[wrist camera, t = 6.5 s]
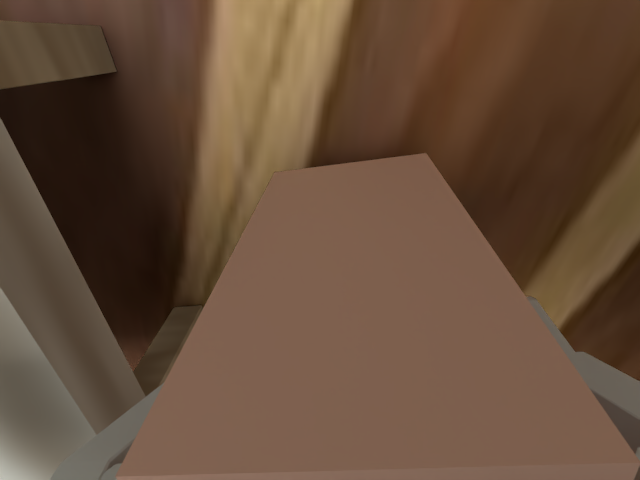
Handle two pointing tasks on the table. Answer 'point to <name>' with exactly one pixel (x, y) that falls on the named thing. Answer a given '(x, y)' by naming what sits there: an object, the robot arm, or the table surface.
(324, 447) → the block
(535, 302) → the robot arm
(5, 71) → the footstool
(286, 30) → the table surface
